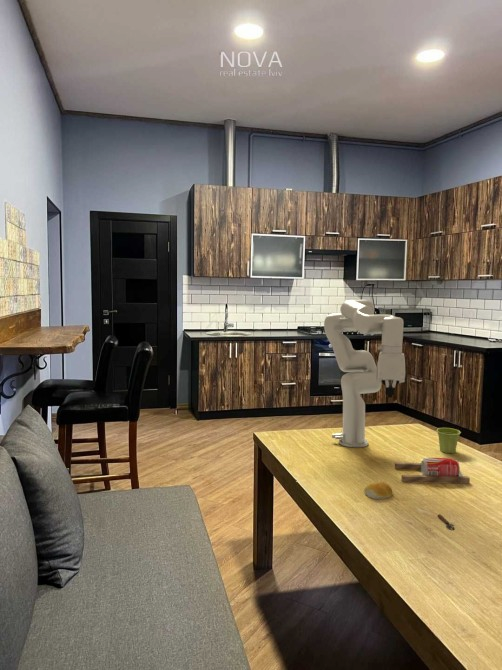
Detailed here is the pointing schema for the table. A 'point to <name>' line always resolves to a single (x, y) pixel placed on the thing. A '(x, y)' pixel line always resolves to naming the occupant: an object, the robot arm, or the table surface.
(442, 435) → the plant pot
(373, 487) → the bread roll
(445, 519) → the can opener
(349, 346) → the robot arm
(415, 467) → the walnut rails
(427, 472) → the soda can
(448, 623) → the table surface
